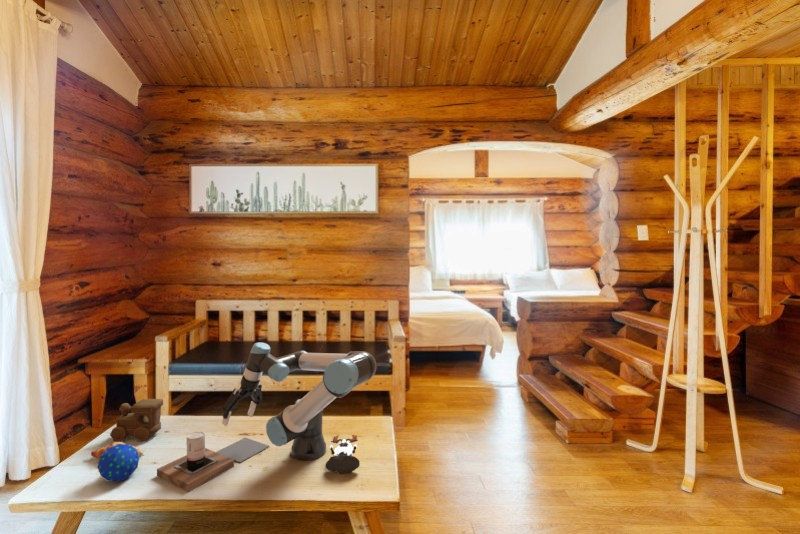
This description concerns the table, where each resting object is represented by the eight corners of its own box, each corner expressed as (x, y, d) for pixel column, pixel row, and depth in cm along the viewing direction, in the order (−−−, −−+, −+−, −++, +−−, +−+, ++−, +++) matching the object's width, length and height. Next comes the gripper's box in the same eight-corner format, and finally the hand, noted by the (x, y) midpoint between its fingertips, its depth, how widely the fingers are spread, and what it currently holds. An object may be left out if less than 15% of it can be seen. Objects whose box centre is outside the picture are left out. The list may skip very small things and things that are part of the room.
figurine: (322, 460, 160) (330, 432, 178) (324, 481, 162) (332, 451, 180) (357, 459, 160) (361, 430, 177) (359, 479, 162) (363, 449, 180)
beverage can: (184, 471, 163) (184, 435, 162) (201, 465, 168) (201, 429, 167) (190, 478, 159) (190, 440, 158) (208, 471, 163) (207, 435, 163)
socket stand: (233, 466, 167) (233, 458, 167) (188, 491, 150) (187, 483, 149) (203, 453, 177) (203, 446, 177) (156, 476, 159) (156, 467, 159)
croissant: (146, 462, 176) (151, 442, 180) (134, 462, 167) (139, 441, 171) (95, 462, 175) (101, 442, 178) (80, 462, 166) (86, 441, 169)
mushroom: (114, 445, 168) (131, 430, 162) (136, 471, 168) (153, 457, 162) (79, 469, 155) (96, 454, 149) (103, 498, 155) (121, 484, 149)
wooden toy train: (165, 431, 198) (164, 397, 197) (151, 442, 186) (151, 407, 186) (123, 431, 197) (122, 398, 196) (107, 442, 186) (106, 407, 185)
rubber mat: (269, 447, 183) (269, 445, 183) (240, 463, 170) (240, 462, 170) (245, 438, 191) (245, 437, 191) (215, 453, 177) (215, 452, 177)
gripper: (267, 367, 188) (254, 407, 191) (221, 378, 166) (207, 423, 169) (278, 375, 185) (264, 416, 188) (233, 387, 163) (218, 433, 166)
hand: (237, 419), depth 179 cm, fingers open, 13 cm apart
